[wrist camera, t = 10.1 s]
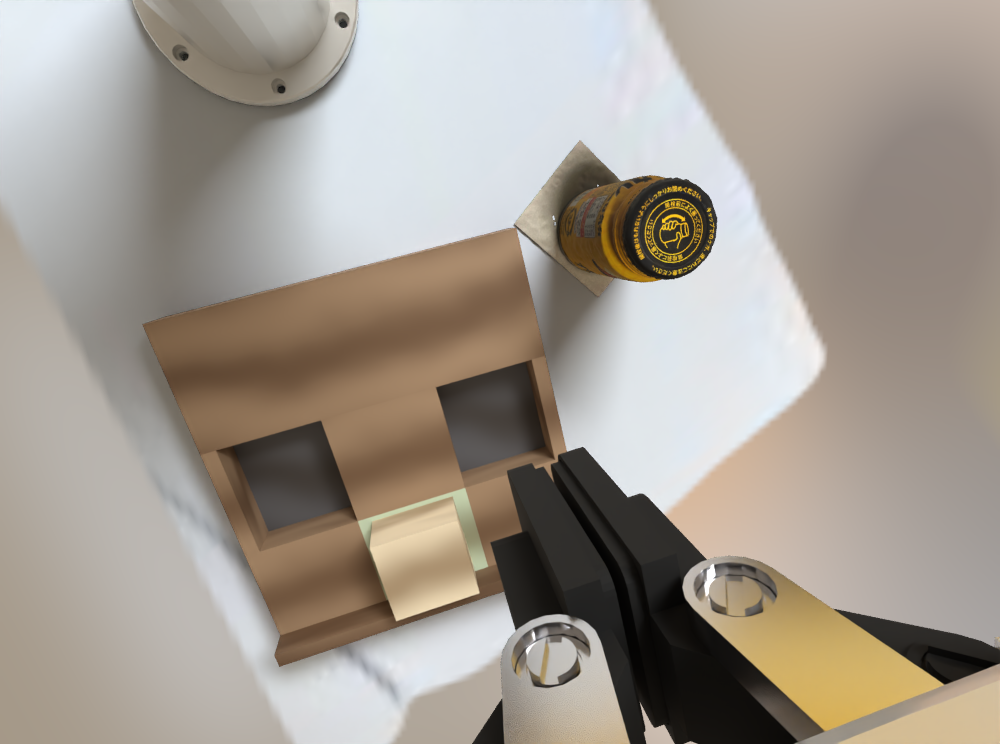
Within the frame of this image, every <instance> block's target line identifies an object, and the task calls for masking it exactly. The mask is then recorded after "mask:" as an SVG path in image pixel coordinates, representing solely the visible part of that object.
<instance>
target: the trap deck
mask: <svg viewBox="0 0 1000 744" xmlns="http://www.w3.org/2000/svg"><path fill="white" fill-rule="evenodd" d="M142 325H143V327H144V329H145V331H146V334H147V336H148V338H149V340H150V343H151V345H152V347H153V349H154V352H155V354H156V356H157V358H158V361H159V363H160V365H161V367H162V370H163V372H164V374H165V376H166V379H167V381H168V383H169V385H170V388H171V390H172V392H173V395H174V397H175V399H176V401H177V404H178V406H179V408H180V410H181V413H182V415H183V417H184V419H185V422H186V424H187V426H188V428H189V431H190V433H191V435H192V437H193V440H194V442H195V444H196V446H197V449H198V451H199V453H200V455H201V458H202V460H203V462H204V464H205V467H206V469H207V471H208V473H209V476H210V478H211V480H212V482H213V485H214V487H215V489H216V491H217V494H218V496H219V498H220V500H221V503H222V505H223V507H224V509H225V512H226V514H227V516H228V518H229V521H230V523H231V525H232V527H233V530H234V532H235V534H236V536H237V539H238V541H239V543H240V545H241V548H242V550H243V552H244V554H245V557H246V559H247V561H248V563H249V566H250V568H251V570H252V572H253V575H254V577H255V579H256V581H257V584H258V586H259V588H260V590H261V593H262V595H263V597H264V599H265V602H266V604H267V606H268V608H269V611H270V613H271V615H272V617H273V620H274V622H275V624H276V626H277V629H278V631H279V633H280V639H279V642H278V645H277V649H276V652H275V655H274V656H275V658H276V660H277V662H278V665H279V667H280V666H283V665H286V664H289V663H292V662H295V661H298V660H301V659H304V658H307V657H310V656H313V655H316V654H319V653H322V652H325V651H328V650H331V649H334V648H337V647H340V646H343V645H346V644H349V643H352V642H355V641H358V640H361V639H363V638H366V637H369V636H372V635H375V634H378V633H381V632H384V631H387V630H390V629H393V628H396V627H399V626H402V625H405V624H408V623H411V622H414V621H417V620H420V619H423V618H426V617H429V616H432V615H435V614H438V613H441V612H444V611H447V610H450V609H453V608H456V607H459V606H462V605H465V604H468V603H471V602H474V601H477V600H479V599H482V598H485V597H488V596H491V595H494V594H497V593H500V592H503V591H504V589H503V585H502V582H501V578H500V575H499V571H498V568H497V564H496V561H495V557H494V554H493V550H492V547H491V543H490V542H493V541H496V540H499V539H502V538H505V537H508V536H511V535H514V534H517V533H520V532H522V529H521V525H520V521H519V517H518V513H517V510H516V506H515V502H514V498H513V495H512V491H511V487H510V483H509V479H508V475H507V470H510V469H514V468H517V467H520V466H523V465H526V464H530V463H532V464H533V465H534V467H535V469H537V468H540V467H543V466H544V468H545V469H546V471H547V472H548V474H549V476H550V477H551V479H552V480H553V476H552V472H551V464H553V463H556V462H558V455H559V454H562V453H565V452H567V450H566V446H565V442H564V437H563V433H562V428H561V424H560V419H559V415H558V411H557V406H556V402H555V397H554V393H553V388H552V384H551V380H550V375H549V371H548V366H547V362H546V357H545V353H544V349H543V344H542V340H541V335H540V331H539V326H538V322H537V318H536V313H535V309H534V304H533V300H532V295H531V291H530V287H529V282H528V278H527V273H526V269H525V265H524V260H523V256H522V251H521V247H520V242H519V238H518V234H517V229H516V228H508V229H504V230H500V231H496V232H492V233H488V234H484V235H480V236H477V237H473V238H469V239H465V240H461V241H457V242H453V243H449V244H446V245H442V246H438V247H434V248H430V249H426V250H422V251H418V252H415V253H411V254H407V255H403V256H399V257H395V258H391V259H387V260H383V261H380V262H376V263H372V264H368V265H364V266H360V267H356V268H352V269H349V270H345V271H341V272H337V273H333V274H329V275H325V276H321V277H318V278H314V279H310V280H306V281H302V282H298V283H294V284H290V285H287V286H283V287H279V288H275V289H271V290H267V291H263V292H259V293H255V294H252V295H248V296H244V297H240V298H236V299H232V300H228V301H224V302H221V303H217V304H213V305H209V306H205V307H201V308H197V309H193V310H190V311H186V312H182V313H178V314H174V315H170V316H166V317H163V318H160V319H157V320H154V321H151V322H148V323H145V324H142ZM553 482H554V480H553ZM452 496H453V499H454V503H455V506H456V509H457V513H458V516H459V519H460V522H461V526H462V529H463V532H464V536H465V539H466V542H467V546H468V549H469V552H470V556H471V559H472V562H473V566H474V571H475V575H476V579H477V584H478V588H479V594H476V595H473V596H470V597H467V598H464V599H461V600H458V601H455V602H452V603H449V604H446V605H443V606H440V607H437V608H434V609H431V610H428V611H425V612H422V613H419V614H416V615H413V616H410V617H407V618H404V619H401V620H398V621H396V619H395V617H394V614H393V611H392V608H391V606H390V603H389V600H388V597H387V595H386V592H385V589H384V586H383V584H382V581H381V578H380V575H379V573H378V570H377V567H376V564H375V562H374V559H373V556H372V553H371V551H370V540H371V529H372V521H375V520H378V519H381V518H384V517H388V516H391V515H394V514H397V513H400V512H404V511H407V510H410V509H413V508H416V507H420V506H423V505H426V504H429V503H432V502H436V501H439V500H442V499H445V498H448V497H452Z"/></svg>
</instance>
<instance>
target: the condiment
mask: <svg viewBox="0 0 1000 744" xmlns="http://www.w3.org/2000/svg"><path fill="white" fill-rule="evenodd" d="M597 184H598V185H599V186H598V187H597ZM553 215H554V217H555V220H553V218H552V216H553ZM554 222H556V226H554ZM515 225H516V226H517V227H519V228H520V229H521V230H522V231H523V232H524V233H526V234H527V235H528V236H529V237H530V238H531V239H532V240H534V241H535V242H536V243H537V244H538V245H539V246H540V247H542V248H543V249H544V250H545V251H546V252H547V253H548V254H549V255H551V256H552V257H553V258H554V259H555V260H556V261H557V262H558V263H560V264H561V265H562V266H563V267H564V268H565V269H566V270H567V271H569V272H570V273H571V274H572V275H573V276H574V277H576V278H577V279H578V280H579V281H580V282H581V283H582V284H584V285H585V286H586V287H587V288H588V289H589V290H590V291H592V292H593V293H594V294H595V295H596V296H598V297H599V296H600V295H601V294H602V292H603V291H604V290H605V289H606V287H607V286H608V285H609V283H610V282H611V281H612V280H613V279H614V278H618V279H623V280H628V281H635V282H653V281H658V280H661V279H664V280H668V279H675V278H679V277H682V276H685V275H687V274H689V273H691V272H692V271H694V270H695V269H696V268H697V267H698V266H699V265H700V264H701V263H702V262H703V261H704V260H705V259H706V258H707V256H708V255H709V253H710V252H711V249H712V246H713V244H714V241H715V238H716V229H717V216H716V213H715V210H714V207H713V204H712V201H711V199H710V197H709V196H708V195H707V194H706V193H705V192H704V191H703V190H702V189H701V188H700V187H699V186H697V185H696V184H693V183H692V182H690V181H689V180H687V179H685V180H682V179H680V178H674V179H672V178H664V177H659V176H651V175H649V176H642V177H637V178H633V179H629V180H625V181H620V180H619V179H618V178H617V177H616V175H615V174H614V173H612V172H611V171H610V170H609V169H608V168H607V167H606V166H605V165H604V164H603V163H602V162H601V161H600V160H599V159H598V158H597V157H596V156H595V155H594V154H593V153H592V152H591V151H590V150H589V149H588V148H587V147H586V146H585V145H584V144H583V143H582V142H581V141H579V142H578V143H577V145H576V146H575V147H574V148H573V150H572V151H571V152H570V153H569V154H568V156H567V157H566V158H565V160H564V161H563V162H562V163H561V165H560V166H559V167H558V168H557V170H556V171H555V172H554V173H553V175H552V176H551V177H550V179H549V180H548V181H547V182H546V184H545V185H544V186H543V187H542V189H541V190H540V191H539V193H538V194H537V195H536V197H535V198H534V199H533V200H532V202H531V203H530V204H529V205H528V207H527V208H526V209H525V211H524V212H523V213H522V215H521V216H520V217H519V218H518V220H517V221H516V222H515Z"/></svg>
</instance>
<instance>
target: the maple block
mask: <svg viewBox="0 0 1000 744" xmlns="http://www.w3.org/2000/svg"><path fill="white" fill-rule="evenodd" d="M370 551H371V553H372V556H373V559H374V562H375V564H376V567H377V570H378V573H379V575H380V578H381V581H382V584H383V586H384V589H385V592H386V595H387V597H388V600H389V603H390V606H391V608H392V611H393V614H394V617H395V619H396V621H398V620H401V619H404V618H407V617H410V616H413V615H416V614H419V613H422V612H425V611H428V610H431V609H434V608H437V607H440V606H443V605H446V604H449V603H452V602H455V601H458V600H461V599H464V598H467V597H470V596H473V595H476V594H479V588H478V584H477V579H476V575H475V571H474V566H473V562H472V559H471V556H470V552H469V549H468V546H467V542H466V539H465V536H464V532H463V529H462V526H461V522H460V519H459V516H458V513H457V509H456V506H455V503H454V499H453V496H452V497H448V498H445V499H442V500H439V501H436V502H432V503H429V504H426V505H423V506H420V507H416V508H413V509H410V510H407V511H404V512H400V513H397V514H394V515H391V516H388V517H384V518H381V519H378V520H375V521H372V529H371V540H370Z"/></svg>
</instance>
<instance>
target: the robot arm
mask: <svg viewBox="0 0 1000 744" xmlns="http://www.w3.org/2000/svg"><path fill="white" fill-rule="evenodd" d="M132 1H133V4H134V7H135V9H136V11H137V13H138V16H139V18H140V20H141V22H142V24H143V26H144V28H145V30H146V31H147V33H148V34H149V36H150V37H151V39H152V40H153V41H154V43H155V44H156V46H157V47H158V49H159V50H160V51H161V52H162V53H163V54H164V55H165V56H166V57H167V58H168V59H169V61H170V62H171V63H172V64H173V65H174V66H175V67H176V68H177V69H179V70H180V71H181V72H182V73H184V74H185V75H186V76H187V77H189V78H190V79H191V80H193V81H194V82H196V83H197V84H199V85H200V86H202V87H203V88H205V89H207V90H208V91H210V92H212V93H214V94H216V95H219V96H221V97H224V98H226V99H228V100H231V101H235V102H239V103H244V104H248V105H257V106H275V105H281V104H287V103H292V102H295V101H297V100H300V99H302V98H305V97H307V96H310V95H311V94H312V93H314V92H315V91H317V90H318V89H320V88H321V87H323V86H324V85H326V83H327V82H328V81H329V80H330V79H331V78H332V77H333V76H334V75H335V74H336V73H337V72H338V71H339V69H340V67H341V66H342V64H343V63H344V61H345V59H346V58H347V56H348V54H349V51H350V49H351V46H352V43H353V40H354V38H355V34H356V28H357V22H358V16H359V6H358V0H132ZM342 21H345V22H346V23H347V27H346V28H341V27H340V26H339V24H340V22H342ZM183 54H189V57H188V59H187V60H185V61H183V60H182V56H183ZM280 86H284V87H285V92H284V93H283V94H282V93H279V92H278V88H279V87H280ZM551 472H552V476H553V480H554V482H553V480H552V479H551V477H550V476H549V474H548V472H547V471H546V469H545V468H544V466H543V467H540V468H537V469H535V467H534V465H533V464H532V463H530V464H526V465H523V466H520V467H517V468H514V469H510V470H507V475H508V479H509V483H510V487H511V491H512V495H513V498H514V502H515V506H516V510H517V513H518V517H519V521H520V525H521V529H522V532H520V533H517V534H514V535H511V536H508V537H505V538H502V539H499V540H496V541H493V542H490V543H491V547H492V550H493V554H494V557H495V561H496V564H497V568H498V571H499V575H500V578H501V582H502V585H503V589H504V592H505V595H506V599H507V602H508V606H509V609H510V613H511V616H512V619H513V623H514V626H515V630H516V632H515V633H514V634H513V635H512V636H511V637H510V638H509V639H508V641H507V643H506V645H505V647H504V649H503V651H502V658H501V679H502V680H501V682H502V699H501V701H500V702H499V704H498V705H497V707H496V708H495V710H494V711H493V713H492V714H491V716H490V718H489V719H488V721H487V722H486V724H485V725H484V727H483V729H482V730H481V731H480V733H479V734H478V736H477V737H476V739H475V741H474V742H473V743H472V744H646V740H645V736H644V732H645V724H644V720H643V715H642V710H641V706H640V703H641V705H642V707H643V708H644V710H645V712H646V714H647V716H648V718H649V720H650V722H651V724H652V725H653V727H655V728H656V727H659V726H661V725H665V726H666V729H667V730H668V732H669V734H670V736H671V738H672V739H673V741H674V743H675V744H684V743H687V742H689V741H692V742H694V743H697V744H1000V637H995V645H994V647H992V646H990V645H988V644H986V643H984V642H982V641H979V640H976V639H972V638H968V637H965V636H962V635H958V634H954V633H948V632H944V631H939V630H934V629H928V628H924V627H919V626H914V625H909V624H905V623H900V622H894V621H890V620H885V619H880V618H876V617H871V616H866V615H861V614H856V613H851V612H846V611H841V610H837V609H832V608H831V607H829V606H828V605H826V604H825V603H823V602H822V601H821V600H819V599H817V598H816V597H815V596H813V595H812V594H810V593H809V592H807V591H806V590H804V589H803V588H801V587H800V586H798V585H797V584H795V583H794V582H793V581H791V580H790V579H788V578H787V577H785V576H784V575H782V574H781V573H779V572H778V571H776V570H775V569H773V568H772V567H770V566H768V565H766V564H764V563H762V562H760V561H757V560H753V559H750V558H746V557H738V556H723V557H714V558H711V559H708V560H707V559H706V558H705V557H704V556H703V555H702V554H701V553H700V552H699V551H698V550H697V549H696V548H695V547H694V546H693V544H692V543H691V542H690V541H689V540H688V539H687V538H686V537H685V536H684V535H683V534H682V533H681V532H680V531H679V530H678V529H677V528H676V527H675V526H674V525H673V523H671V522H670V521H669V519H668V518H667V517H666V516H665V515H664V514H663V513H662V512H661V511H660V510H659V509H658V508H657V507H656V506H655V505H654V504H653V502H652V501H651V500H650V499H649V498H648V497H647V496H645V495H644V494H637V495H634V496H631V497H627V496H626V495H625V494H624V493H623V491H622V490H621V489H620V488H619V487H618V486H617V485H616V483H615V482H614V481H613V480H612V479H611V478H610V477H609V476H608V474H607V473H606V472H605V471H604V470H603V469H602V468H601V466H600V465H599V464H598V463H597V462H596V461H595V460H594V458H593V457H592V456H591V455H590V454H589V453H588V452H587V450H586V449H585V448H584V447H581V448H578V449H575V450H572V451H568V452H565V453H562V454H559V455H558V462H556V463H553V464H551Z"/></svg>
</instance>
